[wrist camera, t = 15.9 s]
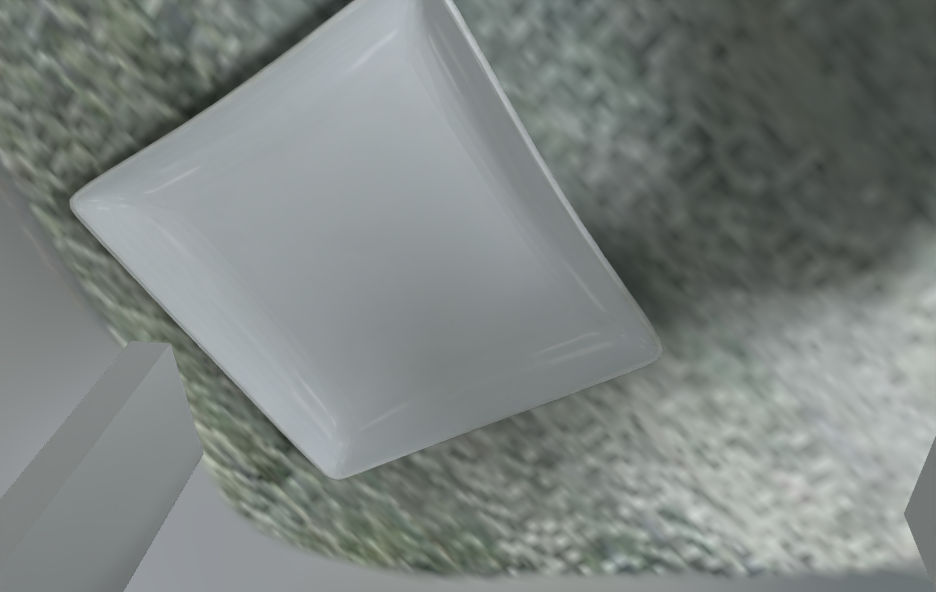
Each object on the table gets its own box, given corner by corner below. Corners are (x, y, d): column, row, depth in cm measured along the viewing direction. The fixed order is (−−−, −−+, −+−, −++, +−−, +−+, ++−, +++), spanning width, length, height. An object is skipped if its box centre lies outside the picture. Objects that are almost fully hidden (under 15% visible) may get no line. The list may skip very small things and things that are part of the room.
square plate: (90, 178, 51) (55, 206, 47) (435, -62, 40) (420, -47, 36) (342, 454, 62) (328, 491, 58) (667, 326, 51) (671, 363, 47)
